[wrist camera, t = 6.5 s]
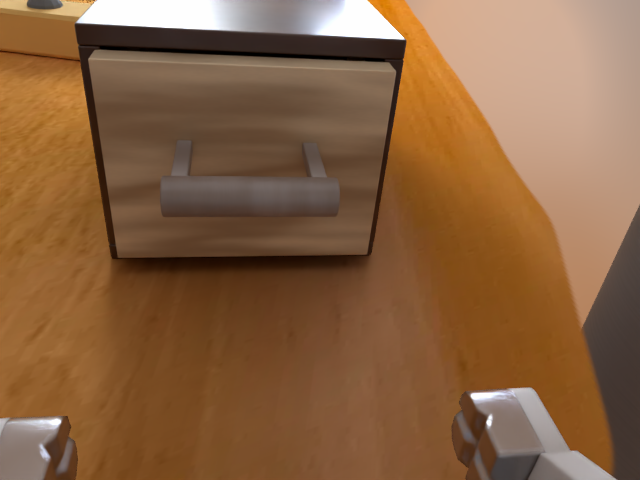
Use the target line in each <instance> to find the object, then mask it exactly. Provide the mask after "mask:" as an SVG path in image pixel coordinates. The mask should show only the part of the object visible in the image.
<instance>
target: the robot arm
mask: <svg viewBox="0 0 640 480" xmlns="http://www.w3.org/2000/svg"><path fill="white" fill-rule="evenodd" d="M459 404H460V407H461V409H462V410H461V411H460V412H459V413H458V414H456V415H455V416H454V419H453V423H452V442H453V446H454V450H455V453H456V456H457V458H458V460H459V461H460V462H461V463H463V464H464V465H465V466H466V467H467V468H468V471H467V474H466V478H465V479H466V480H617V479H615V478H614V477H612V476H611V475H610V474H608V473H607V472H606V471H604V470H603V469H601V468H600V467H599V466H597V465H596V464H595V463H593V462H592V461H590V460H589V459H588V458H586V457H585V456H584V455H582V454H581V453H579V452H578V451H570V449H569V447H568V446H567V444H566V442H565V441H564V439H563V437H562V435H561V434H560V432H559V430H558V429H557V427H556V425H555V424H554V422H553V420H552V419H551V417H550V415H549V413H548V412H547V410H546V408H545V407H544V405H543V403H542V402H541V400H540V398H539V396H538V395H537V393H536V391H534V390H533V389H532V388H514V389H506V388H505V389H491V390H478V391H465V392H464V393H463V394H462V395H461V398H460V401H459ZM70 429H71V425H70V422H69V419H68V416H50V417H20V418H0V480H76V475H77V464H78V455H77V447H76V443H75V441H74V440H73V439H71V438H69V437H68V436H69V433H70Z"/></svg>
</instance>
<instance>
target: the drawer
mask: <svg viewBox="0 0 640 480" xmlns="http://www.w3.org/2000/svg"><path fill="white" fill-rule="evenodd" d="M88 61H89V68H90V75H91V81H92V88H93V95H94V101H95V108H96V115H97V121H98V128H99V135H100V141H101V148H102V155H103V161H104V168H105V175H106V181H107V188H108V195H109V202H110V208H111V215H112V222H113V228H114V235H115V242H116V248H117V255H118V258H143V257H220V256H297V255H366V254H367V252H368V246H369V240H370V233H371V227H372V221H373V214H374V208H375V202H376V196H377V189H378V183H379V177H380V171H381V164H382V158H383V152H384V146H385V139H386V133H387V127H388V120H389V114H390V108H391V102H392V95H393V89H394V83H395V77H396V71H395V69H394V68H393V67H392V66H391V64H390V63H389V62H368V61H365V58H358V57H336V56H314V55H291V54H269V53H247V52H225V51H203V50H180V49H158V48H136V47H121V51H118V50H94V51H93V53H92V54H91V56H90V57H89V59H88Z"/></svg>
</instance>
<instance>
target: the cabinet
mask: <svg viewBox="0 0 640 480" xmlns="http://www.w3.org/2000/svg"><path fill="white" fill-rule="evenodd" d="M74 26H75V33H76V39H77V43H78V44H79V45H78V51H79V58H80V64H81V70H82V77H83V83H84V89H85V96H86V102H87V108H88V114H89V121H90V127H91V133H92V140H93V146H94V152H95V159H96V165H97V171H98V178H99V184H100V190H101V197H102V203H103V209H104V216H105V222H106V228H107V235H108V241H109V244H110V245H109V247H110V253H111V257H112V258H118V255H117V248H116V242H115V235H114V228H113V222H112V215H111V208H110V202H109V195H108V188H107V181H106V175H105V168H104V161H103V155H102V148H101V141H100V135H99V128H98V121H97V115H96V108H95V101H94V95H93V88H92V81H91V75H90V68H89V61H88V59H89V57H90V56H91V54H92V53H93V51H94V50H118V51H121V47H136V48H158V49H180V50H203V51H225V52H247V53H269V54H291V55H314V56H336V57H358V58H365V61H368V62H389V63H390V64H391V66H392V67H393V68H394V69H395V71H396V77H395V83H394V89H393V95H392V102H391V108H390V114H389V120H388V127H387V133H386V139H385V146H384V152H383V158H382V164H381V171H380V177H379V183H378V189H377V196H376V202H375V208H374V214H373V221H372V227H371V233H370V240H369V246H368V252H367V254H366V255H370V254H371V253H372V247H373V242H374V237H375V231H376V225H377V219H378V212H379V206H380V200H381V194H382V188H383V182H384V176H385V170H386V164H387V158H388V152H389V146H390V140H391V134H392V128H393V122H394V116H395V110H396V104H397V97H398V91H399V85H400V79H401V73H402V67H403V58H404V54H405V48H406V39H405V38H404V37H403V36H402V35H401V34H400V33H399V32H398V31H397V30H396V29H395V28H394V27H393V26H392V25H391V24H390V23H389V22H388V21H387V20H386V19H385V18H384V17H383V16H382V15H381V14H380V13H379V12H378V11H377V10H376V9H375V8H374V7H373V6H372V5H371V4H370V3H369V2H368V1H367V0H96V1H95V2H94V3H93V4H92V5H91V6H90V7H89V8H88V10H87V11H86V12H85V13H84V14H83V15H82V16H81V17H80V18H79V19H78V20H77V21H76V22H75V24H74ZM297 256H312V255H297ZM220 257H235V256H220ZM143 258H159V257H143Z"/></svg>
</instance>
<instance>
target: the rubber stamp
mask: <svg viewBox="0 0 640 480" xmlns="http://www.w3.org/2000/svg"><path fill="white" fill-rule="evenodd" d="M91 5H92V4H88V3H79V2H71V1H62V0H0V51H9V52H17V53H25V54H33V55H41V56H49V57H57V58H65V59H73V60H80V58H79V51H78V45H79V44H78V43H77V39H76V33H75V26H74V24H75V22H76V21H77V20H78V19H79V18H80V17H81V16H82V15H83V14H84V13H85V12H86V11H87V10H88V8H89V7H90V6H91Z"/></svg>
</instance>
